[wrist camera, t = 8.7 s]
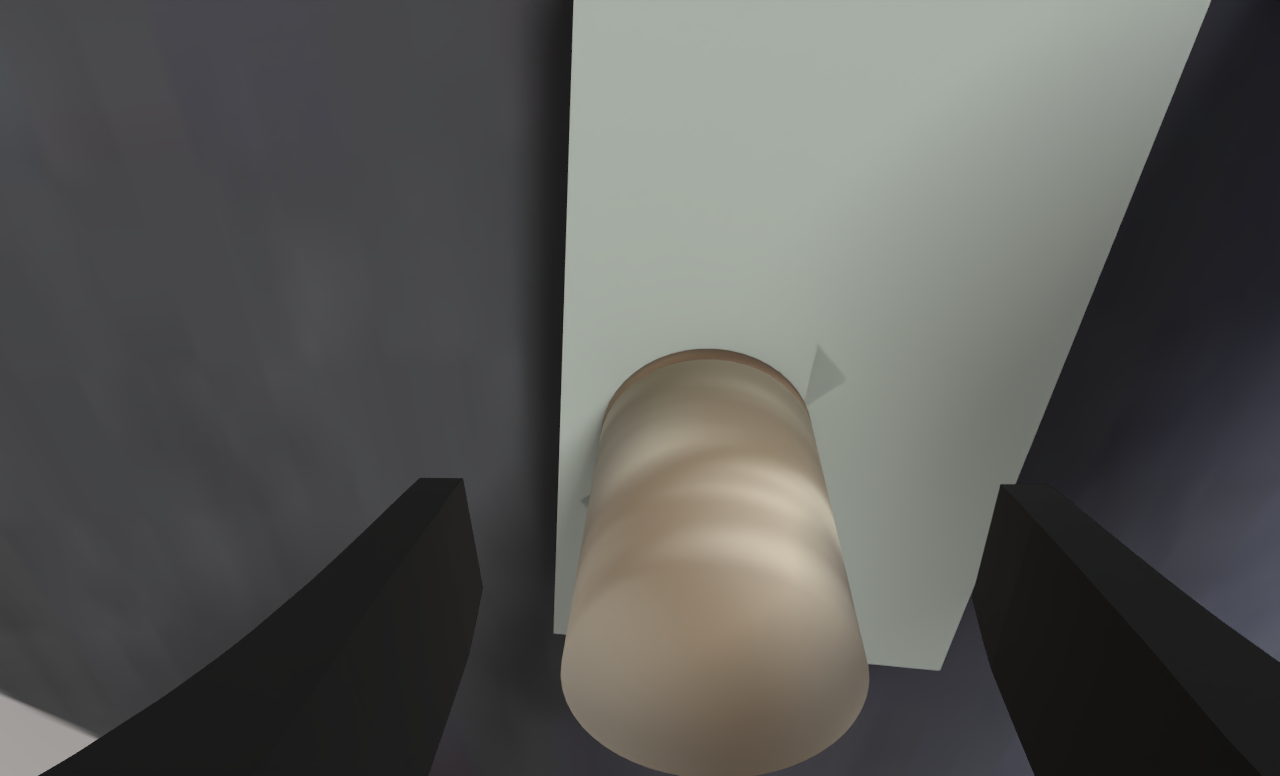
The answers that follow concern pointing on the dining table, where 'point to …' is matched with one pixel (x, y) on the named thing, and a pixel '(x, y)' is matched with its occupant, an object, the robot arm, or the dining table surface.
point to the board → (857, 243)
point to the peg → (711, 577)
